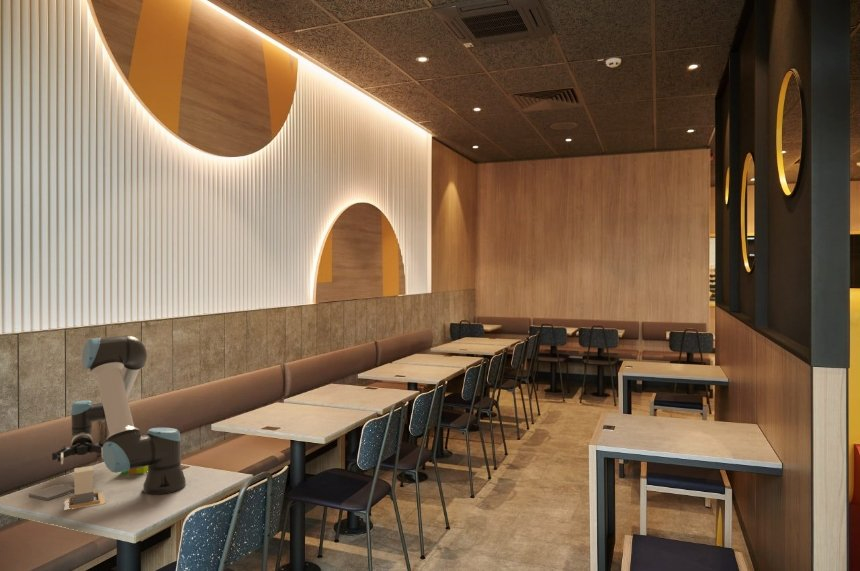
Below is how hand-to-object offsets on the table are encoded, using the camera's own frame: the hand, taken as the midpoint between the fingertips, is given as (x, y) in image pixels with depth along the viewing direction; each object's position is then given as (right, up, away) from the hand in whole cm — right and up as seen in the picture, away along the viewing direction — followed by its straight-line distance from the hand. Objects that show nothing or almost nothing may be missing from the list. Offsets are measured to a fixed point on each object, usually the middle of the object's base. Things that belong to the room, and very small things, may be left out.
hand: (82, 458), depth 224 cm
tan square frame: (+6, -14, -8) cm, 17 cm away
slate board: (-12, -14, 0) cm, 18 cm away
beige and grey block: (+6, -14, -8) cm, 17 cm away
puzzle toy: (+8, -13, +27) cm, 32 cm away
